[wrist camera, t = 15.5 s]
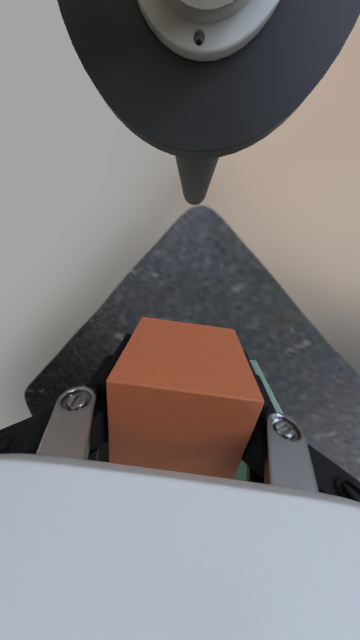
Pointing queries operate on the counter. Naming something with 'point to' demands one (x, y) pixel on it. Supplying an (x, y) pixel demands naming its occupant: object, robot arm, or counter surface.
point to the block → (182, 399)
